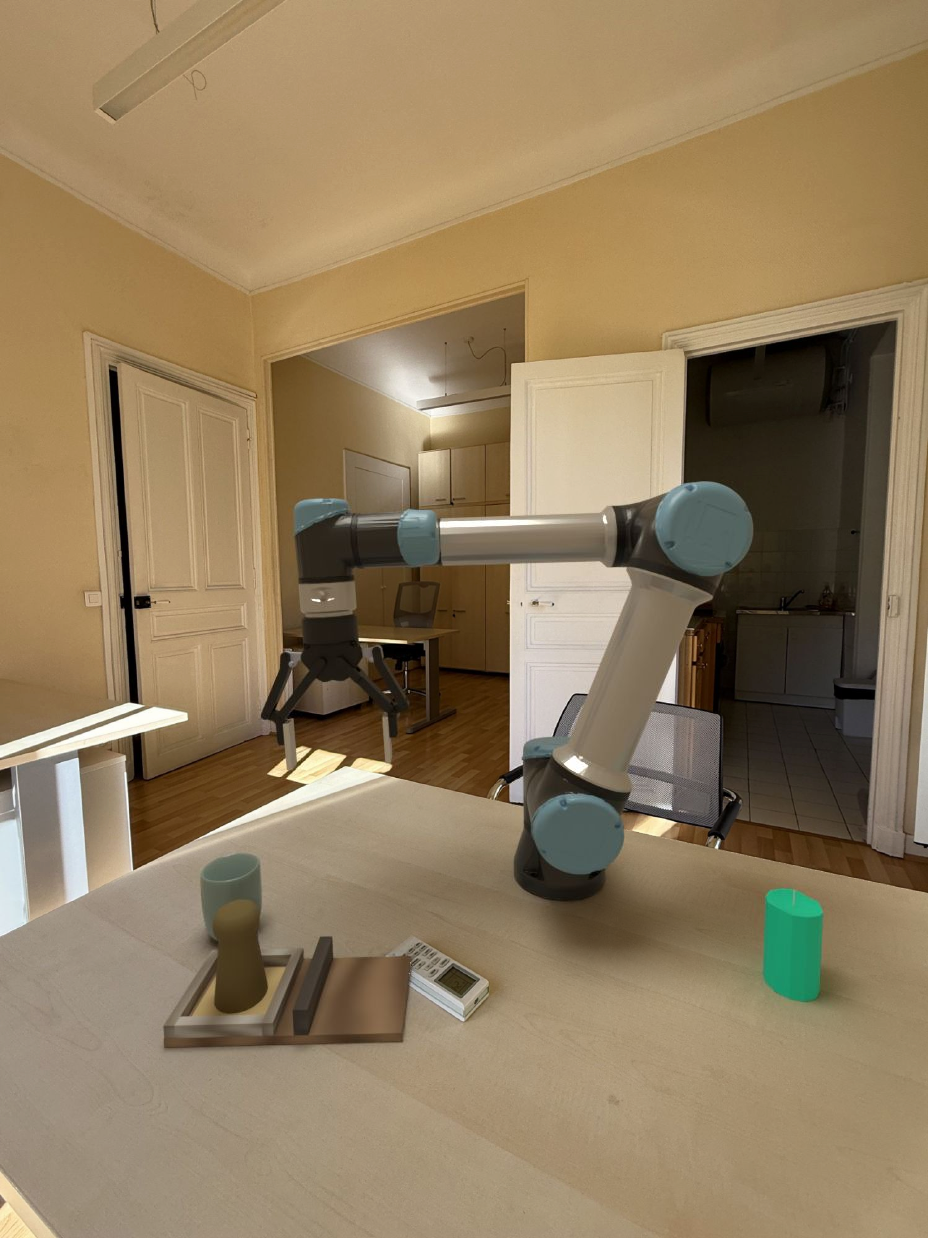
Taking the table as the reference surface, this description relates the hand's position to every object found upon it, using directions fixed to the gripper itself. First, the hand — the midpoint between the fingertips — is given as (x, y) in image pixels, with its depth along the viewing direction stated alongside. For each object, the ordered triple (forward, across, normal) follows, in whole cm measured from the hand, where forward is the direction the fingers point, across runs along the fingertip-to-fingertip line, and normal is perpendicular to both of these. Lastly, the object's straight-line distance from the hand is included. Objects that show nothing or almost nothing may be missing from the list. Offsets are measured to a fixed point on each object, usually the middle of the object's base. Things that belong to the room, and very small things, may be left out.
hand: (340, 763), depth 78 cm
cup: (+24, -17, 0) cm, 29 cm away
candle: (+26, +56, -16) cm, 63 cm away
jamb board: (+24, -4, -14) cm, 28 cm away
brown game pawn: (+23, -11, -14) cm, 29 cm away
